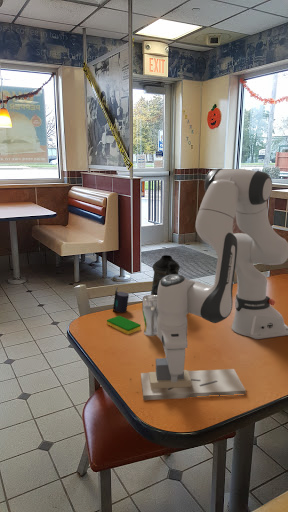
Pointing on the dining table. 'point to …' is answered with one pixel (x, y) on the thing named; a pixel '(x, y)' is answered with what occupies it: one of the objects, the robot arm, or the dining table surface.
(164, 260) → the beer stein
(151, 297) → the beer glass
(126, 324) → the dish sponge
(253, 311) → the robot arm
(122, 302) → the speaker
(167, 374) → the block
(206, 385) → the marked board
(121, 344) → the dining table surface
